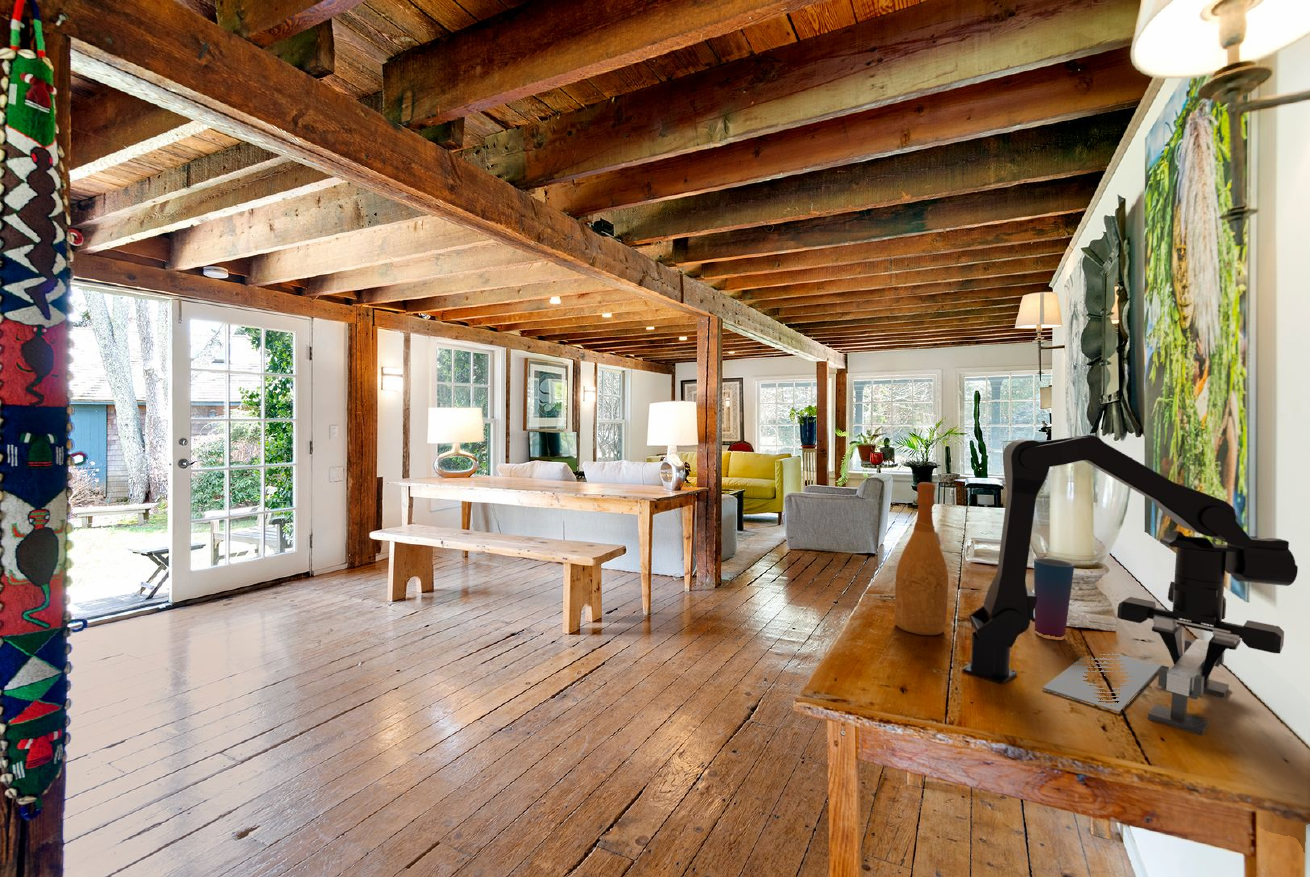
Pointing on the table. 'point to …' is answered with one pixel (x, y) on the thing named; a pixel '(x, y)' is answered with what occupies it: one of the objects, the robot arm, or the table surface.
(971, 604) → the table surface
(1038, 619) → the cup
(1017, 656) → the table surface
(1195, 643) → the rail
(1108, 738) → the table surface
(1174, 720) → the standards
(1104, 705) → the mat
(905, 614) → the wine bottle
